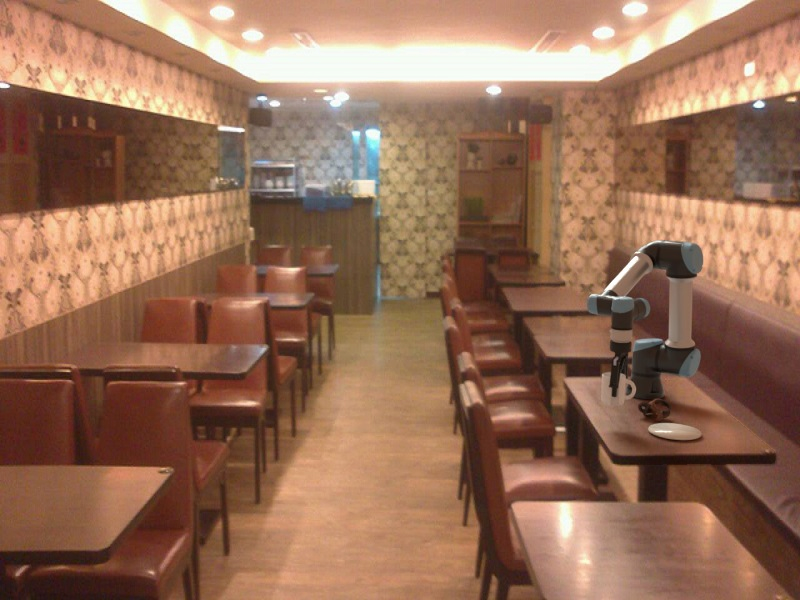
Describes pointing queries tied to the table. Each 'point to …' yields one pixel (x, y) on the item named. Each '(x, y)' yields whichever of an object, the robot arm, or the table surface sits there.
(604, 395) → the mug
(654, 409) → the brown twisted loop piece
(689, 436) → the serving plate
